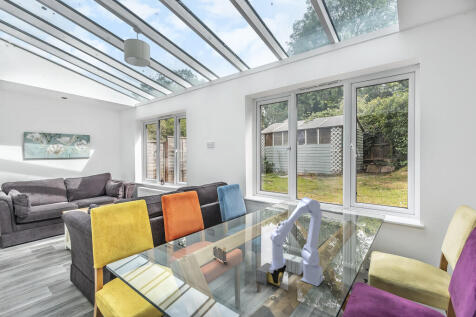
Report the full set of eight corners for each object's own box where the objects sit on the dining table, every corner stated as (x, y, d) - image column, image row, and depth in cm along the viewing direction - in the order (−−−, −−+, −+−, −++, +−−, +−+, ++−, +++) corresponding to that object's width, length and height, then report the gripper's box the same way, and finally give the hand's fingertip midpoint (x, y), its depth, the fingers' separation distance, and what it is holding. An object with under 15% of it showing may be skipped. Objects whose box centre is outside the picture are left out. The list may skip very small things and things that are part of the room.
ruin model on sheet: (226, 263, 143) (226, 247, 143) (223, 264, 141) (222, 249, 141) (217, 257, 152) (216, 243, 152) (213, 258, 150) (213, 244, 150)
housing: (276, 277, 124) (275, 265, 124) (266, 285, 116) (266, 272, 116) (266, 273, 128) (266, 262, 128) (256, 281, 120) (256, 269, 120)
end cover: (283, 282, 118) (283, 273, 118) (278, 285, 115) (278, 277, 115) (266, 275, 125) (266, 267, 125) (262, 279, 121) (261, 270, 121)
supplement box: (285, 252, 139) (304, 257, 131) (285, 264, 139) (305, 270, 131) (279, 256, 133) (300, 262, 125) (279, 269, 133) (300, 275, 125)
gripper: (277, 249, 126) (278, 273, 126) (263, 258, 114) (264, 284, 114) (289, 252, 121) (289, 277, 121) (275, 261, 110) (276, 289, 110)
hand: (278, 281), depth 117 cm, fingers closed on end cover, 5 cm apart
